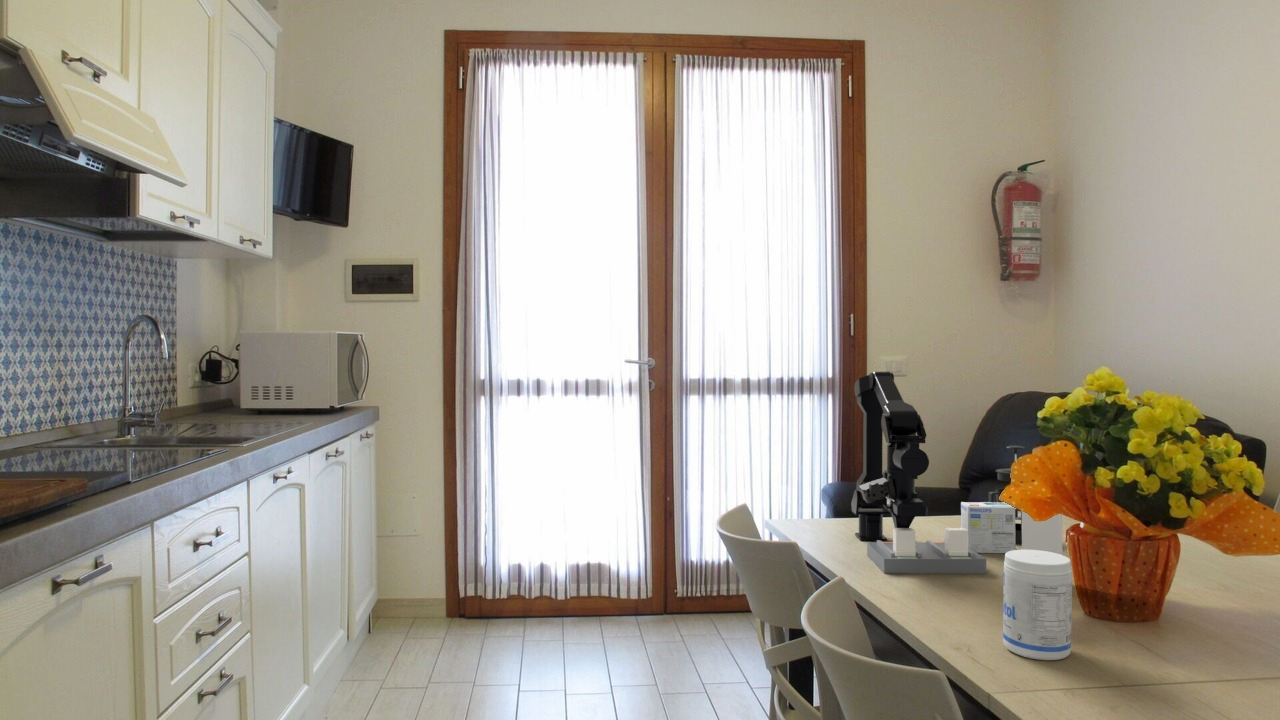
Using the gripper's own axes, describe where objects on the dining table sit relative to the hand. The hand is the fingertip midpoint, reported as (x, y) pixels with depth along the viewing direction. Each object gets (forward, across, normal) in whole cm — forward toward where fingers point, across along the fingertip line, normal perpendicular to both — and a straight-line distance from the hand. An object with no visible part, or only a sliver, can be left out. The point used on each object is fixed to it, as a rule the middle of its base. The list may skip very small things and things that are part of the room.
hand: (900, 539), depth 179 cm
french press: (+7, -24, +34) cm, 42 cm away
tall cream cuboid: (+3, +3, +11) cm, 12 cm away
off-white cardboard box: (+5, +14, +24) cm, 28 cm away
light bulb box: (+6, -14, +24) cm, 29 cm away
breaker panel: (+6, -1, +6) cm, 8 cm away
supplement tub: (+4, +51, +7) cm, 51 cm away
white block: (+3, +3, 0) cm, 4 cm away
